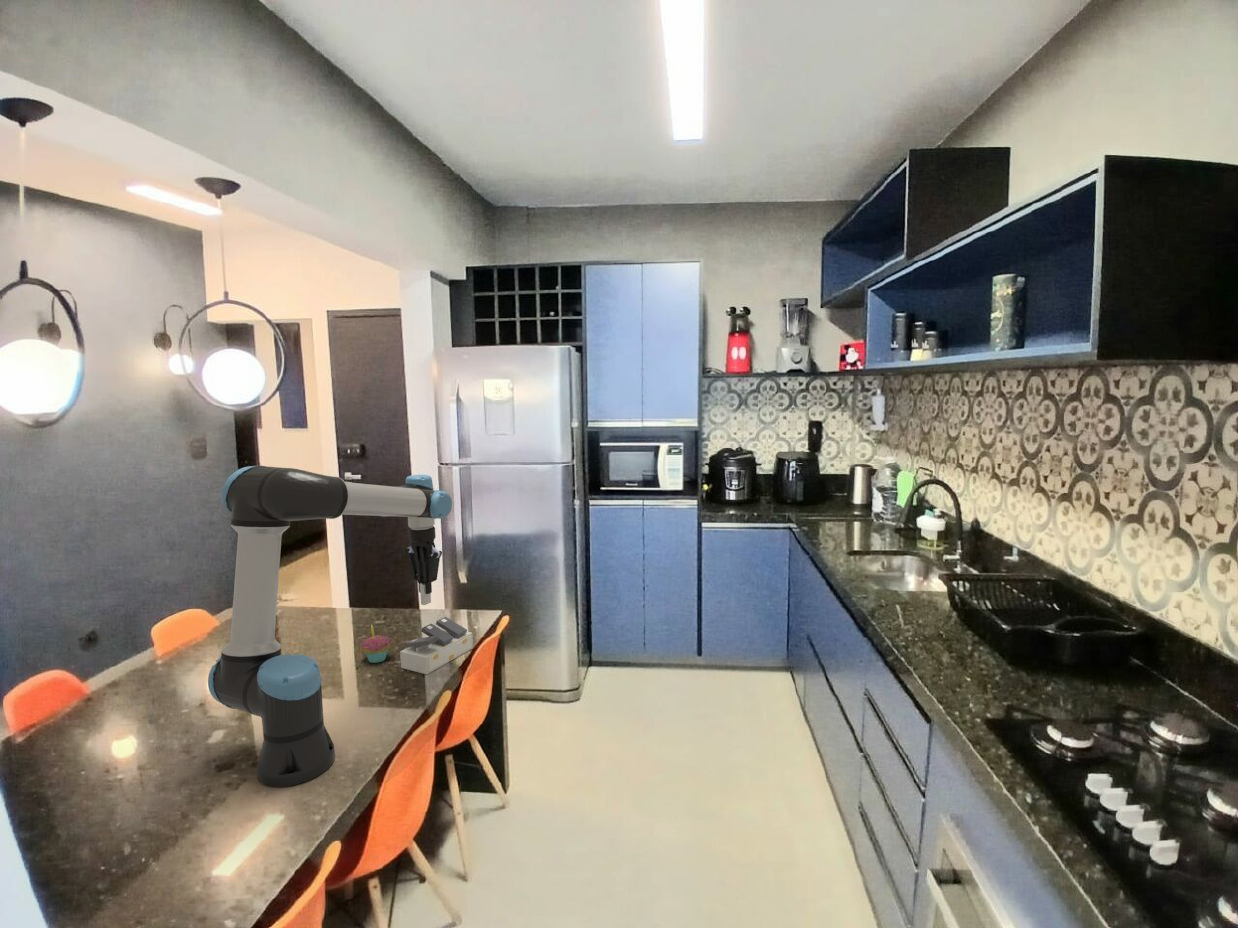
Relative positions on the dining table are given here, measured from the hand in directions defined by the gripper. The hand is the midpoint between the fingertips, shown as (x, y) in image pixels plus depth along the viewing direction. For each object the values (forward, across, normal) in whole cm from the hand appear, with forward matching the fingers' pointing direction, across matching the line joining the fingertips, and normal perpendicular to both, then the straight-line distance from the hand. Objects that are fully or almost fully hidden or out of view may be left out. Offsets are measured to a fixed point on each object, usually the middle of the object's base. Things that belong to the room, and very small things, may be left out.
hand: (426, 603), depth 190 cm
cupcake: (+17, +12, +9) cm, 23 cm away
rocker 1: (+9, -4, +6) cm, 12 cm away
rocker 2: (+9, -4, 0) cm, 10 cm away
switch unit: (+16, -4, 0) cm, 17 cm away
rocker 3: (+9, -4, -6) cm, 12 cm away
